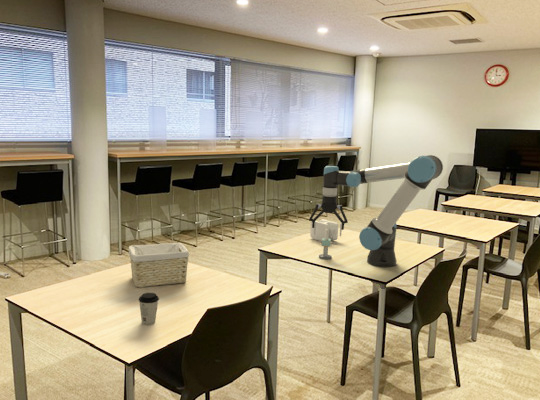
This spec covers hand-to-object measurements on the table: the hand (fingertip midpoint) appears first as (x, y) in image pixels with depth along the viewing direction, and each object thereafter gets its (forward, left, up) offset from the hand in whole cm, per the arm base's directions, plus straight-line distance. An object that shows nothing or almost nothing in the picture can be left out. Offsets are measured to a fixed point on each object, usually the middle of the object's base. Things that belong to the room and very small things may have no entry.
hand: (327, 234), depth 256 cm
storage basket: (+10, +91, -13) cm, 93 cm away
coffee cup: (-28, +112, -13) cm, 116 cm away
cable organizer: (+29, -26, -13) cm, 41 cm away
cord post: (0, 0, -13) cm, 13 cm away
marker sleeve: (0, 0, -6) cm, 6 cm away
